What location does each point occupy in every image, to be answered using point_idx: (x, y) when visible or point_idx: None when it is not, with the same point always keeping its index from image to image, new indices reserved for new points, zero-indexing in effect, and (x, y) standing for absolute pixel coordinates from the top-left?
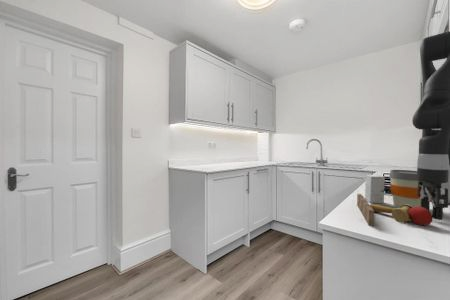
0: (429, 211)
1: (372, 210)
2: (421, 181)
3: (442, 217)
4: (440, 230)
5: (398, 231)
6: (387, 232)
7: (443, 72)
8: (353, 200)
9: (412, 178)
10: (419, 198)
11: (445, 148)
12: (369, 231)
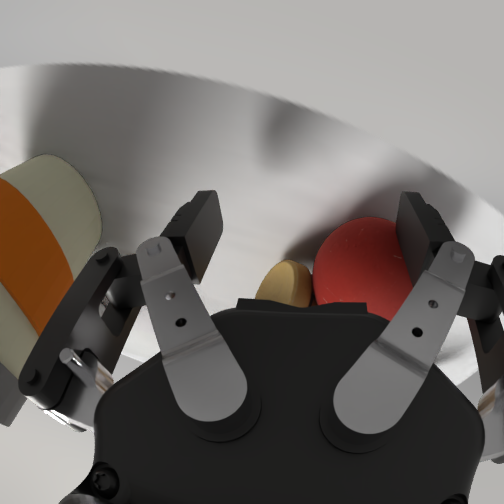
0: (406, 277)
1: None
2: (68, 424)
3: (421, 197)
4: (434, 189)
5: (458, 327)
6: (463, 347)
7: None
8: (130, 350)
9: None
10: (41, 218)
11: None
12: (455, 371)
